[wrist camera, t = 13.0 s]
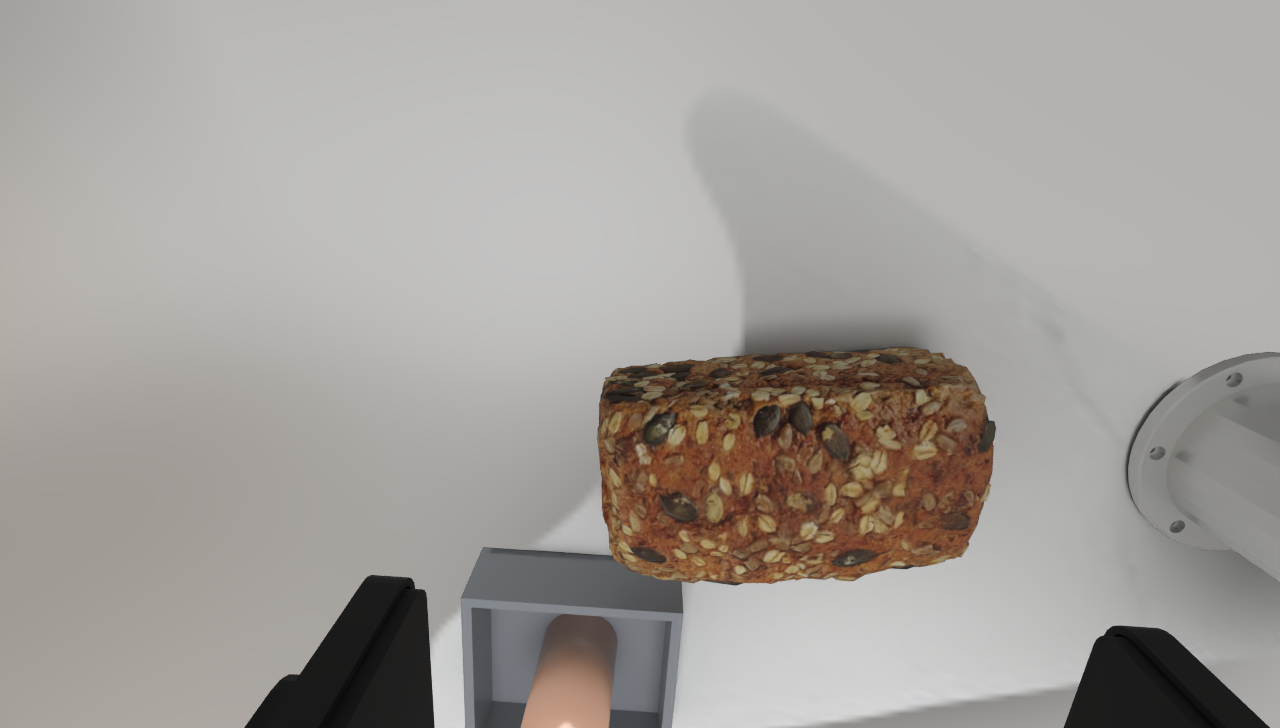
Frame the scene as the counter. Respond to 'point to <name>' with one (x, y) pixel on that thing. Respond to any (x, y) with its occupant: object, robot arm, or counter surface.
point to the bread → (792, 465)
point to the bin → (541, 591)
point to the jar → (573, 675)
